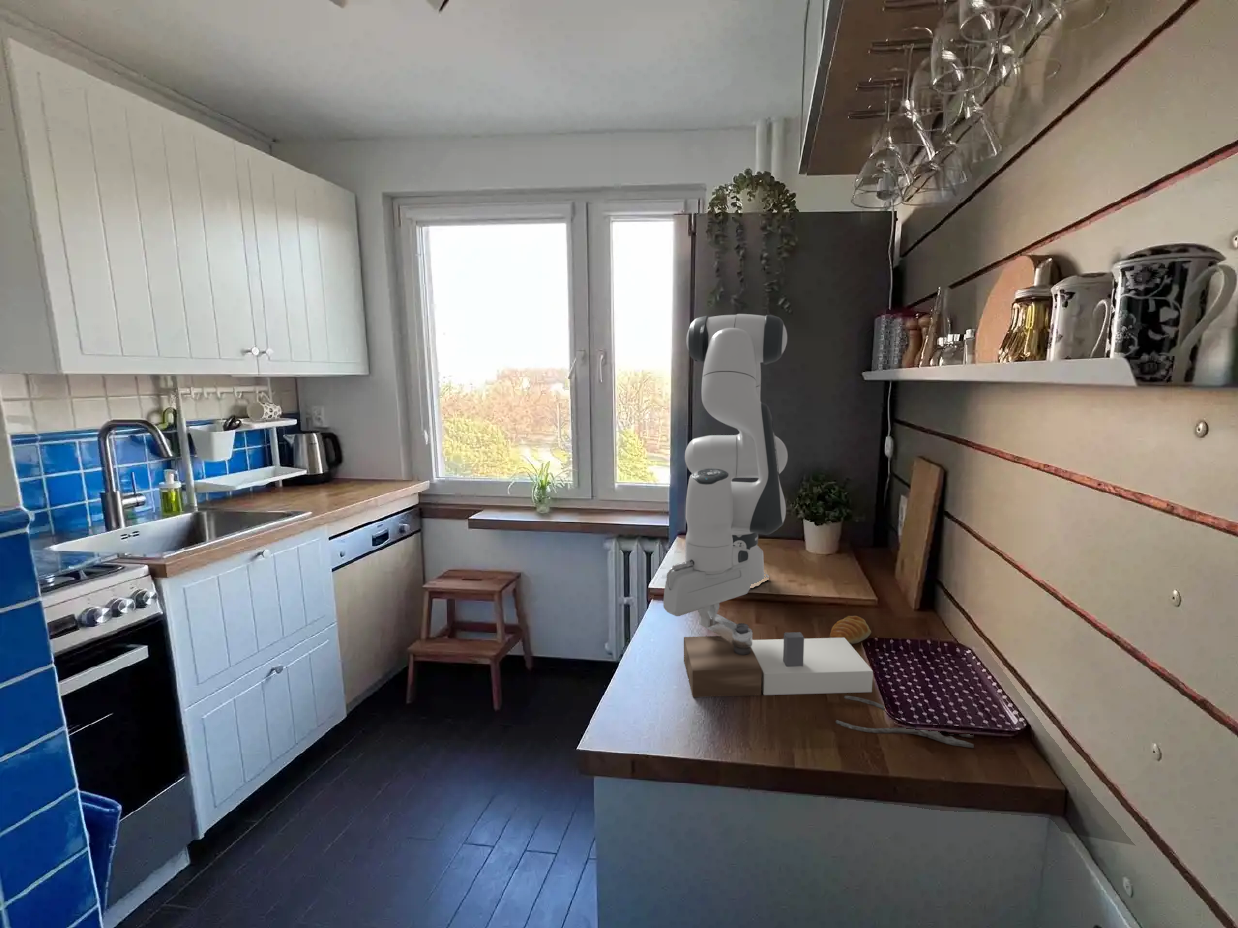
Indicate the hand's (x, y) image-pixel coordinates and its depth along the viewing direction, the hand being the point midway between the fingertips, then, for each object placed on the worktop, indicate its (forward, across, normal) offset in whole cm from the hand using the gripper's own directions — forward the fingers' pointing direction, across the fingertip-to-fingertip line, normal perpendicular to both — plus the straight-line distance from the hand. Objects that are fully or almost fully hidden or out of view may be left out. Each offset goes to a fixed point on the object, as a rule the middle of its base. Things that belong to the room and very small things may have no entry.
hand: (708, 625), depth 116 cm
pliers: (+9, +11, -33) cm, 35 cm away
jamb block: (+8, -2, -5) cm, 10 cm away
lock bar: (+1, +2, -3) cm, 4 cm away
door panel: (+8, +11, -14) cm, 20 cm away
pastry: (+8, +32, -10) cm, 34 cm away
